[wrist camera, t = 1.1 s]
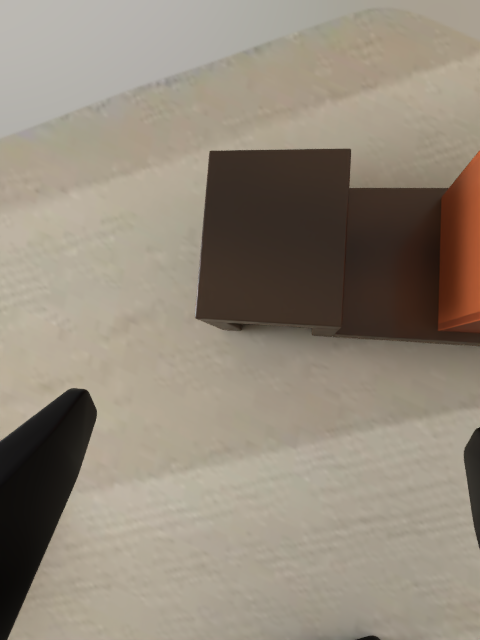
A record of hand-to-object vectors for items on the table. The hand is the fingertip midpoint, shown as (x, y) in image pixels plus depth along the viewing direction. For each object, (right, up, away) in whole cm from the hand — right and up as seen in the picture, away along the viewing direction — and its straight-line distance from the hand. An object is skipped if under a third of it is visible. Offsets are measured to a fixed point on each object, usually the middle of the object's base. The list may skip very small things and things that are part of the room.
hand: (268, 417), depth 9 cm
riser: (+7, +5, +13) cm, 16 cm away
